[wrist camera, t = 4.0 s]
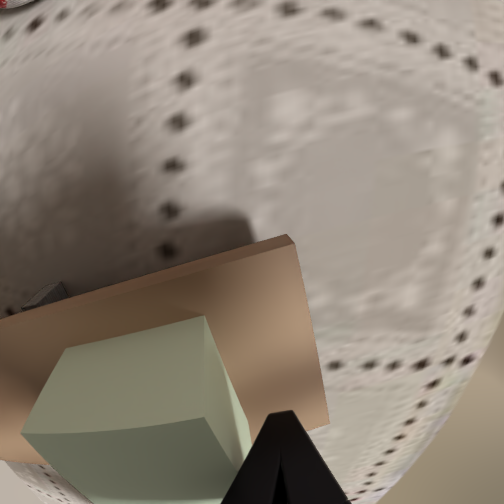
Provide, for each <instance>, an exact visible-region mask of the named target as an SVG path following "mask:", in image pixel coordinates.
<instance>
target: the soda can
mask: <svg viewBox="0 0 504 504" xmlns="http://www.w3.org/2000/svg"><path fill="white" fill-rule="evenodd" d="M31 1H34V0H0V8H4V9H8V8H15V7H18V6H22V5H24V4H27V3H29V2H31Z"/></svg>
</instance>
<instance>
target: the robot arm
mask: <svg viewBox="0 0 504 504" xmlns="http://www.w3.org/2000/svg"><path fill="white" fill-rule="evenodd" d="M220 504H351V502H350V501H349V500H348V498H347V496H346V495H345V493H344V491H343V490H342V488H341V487H340V485H339V484H338V482H337V481H336V479H335V477H334V476H333V474H332V473H331V471H330V469H329V468H328V466H327V465H326V463H325V461H324V460H323V458H322V457H321V455H320V453H319V452H318V450H317V449H316V447H315V445H314V444H313V442H312V440H311V439H310V437H309V435H308V434H307V432H306V430H305V429H304V427H303V426H302V424H301V422H300V421H299V419H298V417H297V415H296V414H295V412H294V411H293V410H286V411H280V412H273V413H269V414H268V415H267V417H266V419H265V421H264V423H263V425H262V427H261V429H260V431H259V433H258V435H257V437H256V439H255V441H254V443H253V445H252V447H251V449H250V451H249V453H248V454H247V456H246V458H245V460H244V462H243V464H242V466H241V468H240V469H239V471H238V473H237V475H236V477H235V479H234V480H233V482H232V484H231V486H230V488H229V489H228V491H227V493H226V495H225V496H224V498H223V500H222V502H221V503H220Z"/></svg>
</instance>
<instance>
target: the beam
mask: <svg viewBox="0 0 504 504" xmlns="http://www.w3.org/2000/svg"><path fill="white" fill-rule="evenodd" d="M203 315H205V318H206V321H207V323H208V326H209V329H210V331H211V334H212V336H213V339H214V341H215V344H216V346H217V349H218V352H219V354H220V357H221V359H222V362H223V364H224V366H225V369H226V371H227V374H228V376H229V379H230V381H231V383H232V386H233V388H234V391H235V393H236V395H237V398H238V400H239V402H240V405H241V407H242V409H243V412H244V414H245V416H246V418H247V421H248V425H249V431H250V437H251V443H252V445H253V443H254V441H255V439H256V437H257V435H258V433H259V431H260V429H261V427H262V425H263V423H264V421H265V419H266V417H267V415H268V414H269V413H273V412H280V411H286V410H293V411H294V412H295V414H296V415H297V417H298V419H299V421H300V422H301V424H302V426H303V427H304V429H305V430H306V431H309V430H312V429H315V428H318V427H321V426H324V425H327V424H330V421H329V415H328V409H327V403H326V397H325V392H324V386H323V380H322V375H321V369H320V364H319V358H318V353H317V348H316V343H315V337H314V332H313V327H312V322H311V317H310V312H309V307H308V303H307V298H306V293H305V288H304V283H303V279H302V274H301V269H300V265H299V260H298V256H297V251H296V247H295V243H294V242H293V241H292V240H291V238H290V237H289V236H288V235H287V234H284V235H281V236H277V237H274V238H270V239H267V240H264V241H260V242H257V243H253V244H250V245H246V246H243V247H239V248H236V249H233V250H229V251H226V252H222V253H219V254H215V255H212V256H209V257H205V258H202V259H198V260H195V261H192V262H188V263H185V264H181V265H178V266H175V267H171V268H168V269H164V270H161V271H158V272H154V273H151V274H147V275H144V276H141V277H137V278H134V279H131V280H127V281H124V282H121V283H117V284H114V285H111V286H107V287H104V288H101V289H97V290H94V291H91V292H87V293H84V294H81V295H77V296H74V297H71V298H67V299H64V300H61V301H57V302H54V303H51V304H48V305H44V306H41V307H38V308H34V309H31V310H28V311H25V312H21V313H18V314H15V315H12V316H8V317H5V318H2V319H0V460H5V461H12V462H21V463H31V464H44V465H50V464H49V463H48V462H47V461H46V460H45V459H44V458H43V457H42V456H41V455H40V454H39V453H38V452H37V451H36V450H35V449H34V448H33V447H32V446H31V445H30V444H29V443H28V441H27V440H26V439H25V438H24V437H23V436H22V435H21V434H20V432H21V430H22V428H23V426H24V424H25V422H26V420H27V418H28V416H29V414H30V412H31V410H32V408H33V406H34V404H35V403H36V401H37V399H38V397H39V395H40V393H41V391H42V389H43V388H44V386H45V384H46V382H47V380H48V378H49V377H50V375H51V373H52V371H53V370H54V368H55V366H56V364H57V363H58V361H59V359H60V357H61V356H62V354H63V352H64V351H65V349H66V348H69V347H74V346H78V345H83V344H88V343H92V342H97V341H101V340H105V339H110V338H114V337H119V336H123V335H127V334H131V333H136V332H140V331H144V330H148V329H152V328H156V327H160V326H164V325H168V324H172V323H176V322H180V321H184V320H188V319H192V318H195V317H199V316H203Z"/></svg>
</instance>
